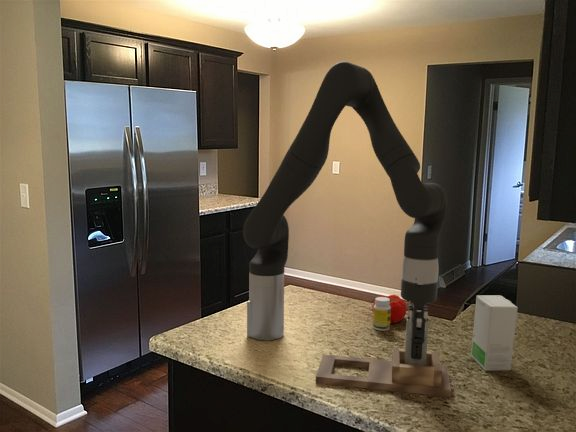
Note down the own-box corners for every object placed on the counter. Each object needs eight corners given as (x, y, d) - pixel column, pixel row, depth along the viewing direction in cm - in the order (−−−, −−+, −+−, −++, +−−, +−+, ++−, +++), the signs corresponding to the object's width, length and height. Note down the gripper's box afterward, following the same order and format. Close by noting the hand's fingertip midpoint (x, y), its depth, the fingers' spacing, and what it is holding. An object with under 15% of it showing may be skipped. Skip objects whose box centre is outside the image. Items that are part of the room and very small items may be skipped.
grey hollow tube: (401, 359, 117) (404, 314, 115) (421, 359, 117) (424, 314, 115) (408, 368, 112) (410, 322, 110) (429, 367, 112) (431, 321, 111)
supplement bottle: (389, 331, 144) (391, 302, 143) (372, 330, 145) (373, 300, 143) (390, 325, 148) (391, 297, 147) (373, 324, 149) (374, 295, 148)
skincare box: (470, 356, 128) (474, 294, 126) (496, 356, 128) (501, 294, 126) (485, 371, 120) (490, 305, 117) (513, 371, 120) (518, 305, 118)
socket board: (315, 383, 113) (316, 361, 112) (323, 360, 125) (323, 340, 124) (451, 397, 108) (452, 373, 107) (445, 371, 119) (446, 350, 119)
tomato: (370, 324, 150) (371, 302, 149) (373, 312, 160) (374, 291, 159) (406, 327, 148) (407, 304, 147) (406, 314, 158) (407, 293, 157)
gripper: (401, 268, 119) (397, 340, 122) (401, 285, 105) (398, 365, 108) (435, 270, 118) (431, 342, 120) (440, 287, 104) (435, 369, 106)
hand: (415, 353), depth 114 cm, fingers closed on grey hollow tube, 4 cm apart
